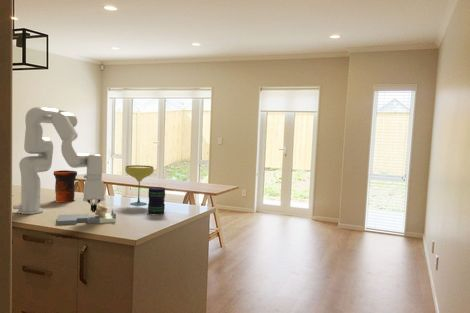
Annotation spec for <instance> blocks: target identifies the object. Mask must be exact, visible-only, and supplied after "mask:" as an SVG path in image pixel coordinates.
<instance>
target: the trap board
mask: <svg viewBox="0 0 470 313" xmlns="http://www.w3.org/2000/svg"><path fill="white" fill-rule="evenodd" d="M78 223H87V224H104V223H117V213H116V211H115V209H114V208H111V212H106V214H105V217H101V216H98V215H95V214H93V215H90V214H89V213H80V214H79V213H77V214H76V213H75V214H74V213H73V214H58V215H57V221H56V225H57V226H63V225H64V226H65V225H77V224H78Z"/></svg>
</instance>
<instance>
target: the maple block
mask: <svg viewBox="0 0 470 313" xmlns="http://www.w3.org/2000/svg"><path fill="white" fill-rule="evenodd" d="M108 209H109V206H108V205H104V204H100V203H98V204H97V210H95V212H94V213H95V214H94V215H98V216H101V217H105V214H106V213H108Z"/></svg>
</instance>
